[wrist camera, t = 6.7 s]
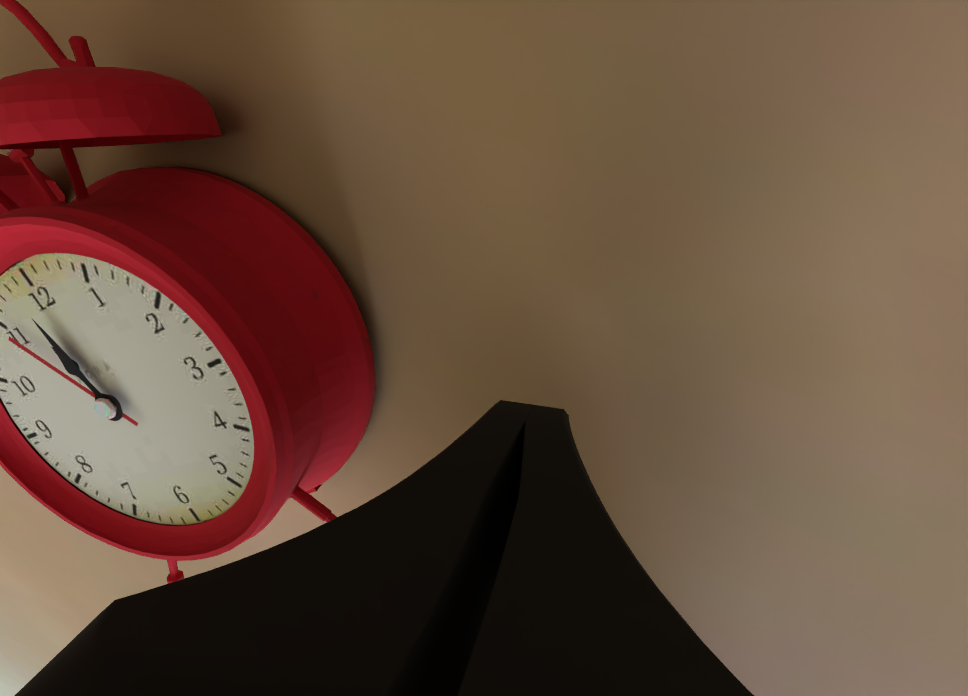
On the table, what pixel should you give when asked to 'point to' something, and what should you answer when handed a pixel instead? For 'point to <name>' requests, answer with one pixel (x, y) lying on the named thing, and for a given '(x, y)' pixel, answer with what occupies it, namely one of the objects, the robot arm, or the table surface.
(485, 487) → the robot arm
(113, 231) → the alarm clock
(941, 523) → the table surface
